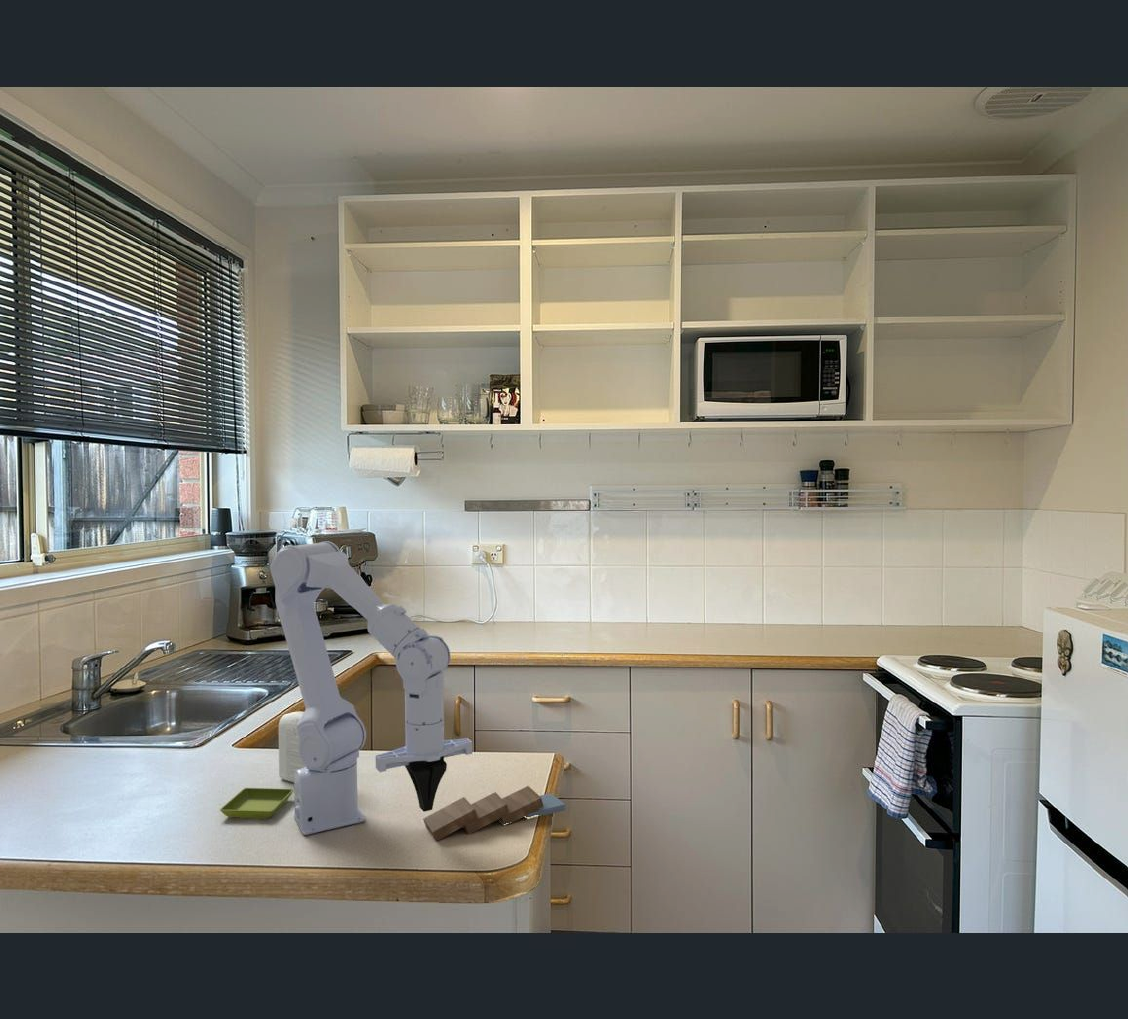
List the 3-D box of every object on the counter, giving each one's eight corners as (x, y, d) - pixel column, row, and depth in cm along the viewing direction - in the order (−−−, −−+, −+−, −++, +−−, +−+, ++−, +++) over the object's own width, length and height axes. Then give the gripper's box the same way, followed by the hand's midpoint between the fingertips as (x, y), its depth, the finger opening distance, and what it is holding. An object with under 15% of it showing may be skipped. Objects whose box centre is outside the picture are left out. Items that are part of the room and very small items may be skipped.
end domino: (526, 814, 120) (565, 804, 124) (512, 802, 124) (550, 793, 128) (526, 823, 120) (565, 813, 124) (513, 811, 125) (550, 802, 128)
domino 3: (501, 817, 118) (541, 797, 121) (489, 804, 122) (528, 785, 125) (504, 826, 118) (543, 806, 121) (492, 813, 122) (530, 794, 125)
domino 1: (432, 832, 113) (475, 809, 116) (423, 818, 117) (463, 796, 120) (436, 841, 113) (478, 818, 116) (426, 827, 118) (466, 805, 120)
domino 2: (465, 825, 115) (506, 804, 118) (455, 812, 120) (495, 792, 122) (468, 834, 115) (509, 813, 118) (458, 821, 120) (498, 800, 123)
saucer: (294, 800, 129) (294, 788, 129) (272, 824, 120) (272, 811, 120) (244, 799, 129) (244, 787, 129) (218, 822, 121) (218, 810, 120)
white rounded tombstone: (334, 782, 135) (333, 713, 135) (316, 791, 132) (314, 720, 131) (294, 771, 140) (293, 705, 140) (275, 779, 137) (274, 711, 136)
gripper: (384, 735, 107) (386, 830, 107) (480, 718, 114) (480, 807, 114) (370, 721, 113) (372, 811, 113) (462, 706, 120) (463, 790, 121)
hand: (425, 808), depth 114 cm, fingers closed
